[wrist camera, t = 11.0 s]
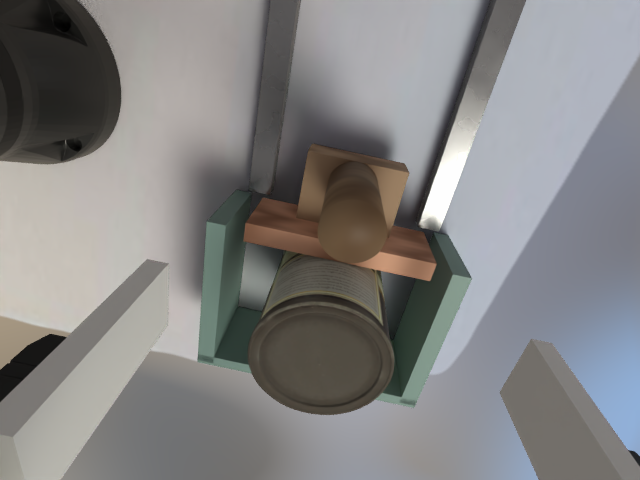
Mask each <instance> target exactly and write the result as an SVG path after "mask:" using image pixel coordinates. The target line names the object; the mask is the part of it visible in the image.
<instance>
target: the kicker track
mask: <svg viewBox="0 0 640 480" xmlns="http://www.w3.org/2000/svg"><path fill="white" fill-rule="evenodd" d="M525 2H526V0H490V3H489V6H488V9H487V12H486V15H485V18H484V21H483V24H482V27H481V30H480V33H479V36H478V39H477V42H476V45H475V47H474V50H473V53H472V56H471V59H470V62H469V65H468V68H467V71H466V74H465V77H464V80H463V83H462V86H461V89H460V92H459V95H458V97H457V100H456V103H455V106H454V109H453V112H452V115H451V118H450V121H449V124H448V127H447V130H446V133H445V136H444V139H443V142H442V145H441V147H440V150H439V153H438V156H437V159H436V162H435V165H434V168H433V171H432V174H431V177H430V180H429V183H428V186H427V189H426V192H425V195H424V198H423V200H422V203H421V206H420V209H419V212H418V215H417V218H416V223H417V226H418V227H420V228H424V229H429V230H434V231H438V232H439V230H440V228H441V225H442V222H443V220H444V217H445V215H446V212H447V209H448V207H449V204H450V201H451V199H452V196H453V193H454V191H455V188H456V185H457V183H458V180H459V177H460V175H461V172H462V169H463V167H464V164H465V161H466V159H467V156H468V153H469V151H470V148H471V145H472V143H473V140H474V137H475V135H476V132H477V129H478V127H479V124H480V121H481V119H482V116H483V113H484V111H485V108H486V106H487V103H488V100H489V98H490V95H491V92H492V90H493V87H494V84H495V82H496V79H497V76H498V74H499V71H500V68H501V66H502V63H503V60H504V58H505V55H506V52H507V50H508V47H509V44H510V42H511V39H512V36H513V34H514V31H515V28H516V26H517V23H518V20H519V18H520V15H521V12H522V10H523V7H524V4H525ZM300 3H301V0H270V9H269V18H268V26H267V35H266V44H265V52H264V61H263V70H262V78H261V87H260V96H259V104H258V113H257V122H256V130H255V139H254V148H253V156H252V165H251V174H250V182H249V191H253V192H258V193H262V194H267V195H270V194H271V193H272V191H273V187H274V180H275V173H276V167H277V160H278V153H279V146H280V139H281V132H282V126H283V119H284V112H285V105H286V98H287V91H288V85H289V78H290V71H291V64H292V57H293V50H294V44H295V37H296V30H297V23H298V16H299V9H300Z"/></svg>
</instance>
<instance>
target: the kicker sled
mask: <svg viewBox="0 0 640 480" xmlns="http://www.w3.org/2000/svg"><path fill="white" fill-rule="evenodd" d="M408 176H409V171H408V169H407V167H406V165H405V164H404V163H400V162H395V161H390V160H386V159H381V158H377V157H372V156H367V155H363V154H358V153H354V152H349V151H344V150H340V149H335V148H331V147H326V146H321V145H317V144H312V145H311V146H310V148H309V150H308V154H307V160H306V165H305V171H304V176H303V182H302V187H301V193H300V198H299V204H298V205H296V204H291V203H287V202H282V201H277V200H273V199H268V198H262V200H261V201H260V203H259V204H258V206H257V207H256V208H255V210H254V211H253V213H252V214H251V216H250V217H249V219H248V220H247V222H246V223H245V232H244V241H245V242H249V243H254V244H259V245H263V246H268V247H272V248H277V249H282V250H286V251H291V252H296V253H300V254H305V255H310V256H314V257H319V258H324V259H328V260H333V261H338V262H342V263H347V264H352V265H356V266H361V267H366V268H370V269H375V270H380V271H384V272H389V273H394V274H398V275H403V276H408V277H412V278H417V279H422V280H426V281H430V280H431V278H432V275H433V273H434V270H435V267H436V265H437V263H436V261H435V258H434V256H433V254H432V251H431V249H430V246H429V244H428V242H427V239H426V237H425V234H424V232H421V231H416V230H412V229H407V228H402V227H398V226H393V224H394V220H395V217H396V214H397V211H398V208H399V204H400V201H401V198H402V195H403V192H404V188H405V185H406V182H407V179H408Z"/></svg>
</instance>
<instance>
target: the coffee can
mask: <svg viewBox="0 0 640 480" xmlns="http://www.w3.org/2000/svg"><path fill="white" fill-rule="evenodd" d="M247 354H248V363H249V368H250V370H251V373H252V375H253V377H254V379H255V380H256V382H257V383H258V385H259V386H260V387H261V388H262V389H263V390H264V391H265V392H266V393H267V394H268V395H269V396H271V397H272V398H273V399H275V400H276V401H278V402H279V403H281V404H283V405H285V406H287V407H289V408H292V409H294V410H298V411H301V412H306V413H311V414H320V415H334V414H341V413H347V412H351V411H354V410H357V409H359V408H361V407H363V406H365V405H368V404H369V403H371V402H372V401H374V400H375V399H376V398H377V397H379V396H380V395H381V394H382V393H383V391H384V390H385V389H386V387H387V386H388V384H389V382H390V381H391V378H392V375H393V371H394V352H393V347H392V343H391V341H390V336H389V329H388V321H387V314H386V308H385V301H384V293H383V286H382V278H381V271H380V270H375V269H370V268H366V267H361V266H356V265H352V264H347V263H342V262H338V261H333V260H328V259H324V258H319V257H314V256H310V255H305V254H300V253H296V252H291V251H286V250H284V253H283V257H282V260H281V263H280V265H279V268H278V271H277V273H276V276H275V278H274V281H273V284H272V286H271V289H270V292H269V295H268V297H267V300H266V303H265V306H264V308H263V311H262V314H261V316H260V319H259V322H258V323H257V325H256V326H255V328H254V330H253V333H252V335H251V337H250V340H249V344H248V352H247Z"/></svg>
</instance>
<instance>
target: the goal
mask: <svg viewBox="0 0 640 480" xmlns="http://www.w3.org/2000/svg"><path fill="white" fill-rule="evenodd" d="M251 195H252V193H249V192H244V191H240V190H236V191H235V192H234V193H233V194H232V195H231V196H230V197H229V198H228V199H227V200H226V201H225V203H224V204H223V205H222V206H221V207H220V208H219V209H218V210H217V211H216V212H215V213H214V214H213V215H212V216H211V217H210V218H209V220H208V221H207V224H206V239H205V254H204V270H203V285H202V301H201V316H200V331H199V347H198V362H200V363H205V364H209V365H214V366H219V367H224V368H228V369H233V370H238V371H242V372H247V373H251V370H250V368H249V363H248V354H247V352H248V344H249V340H250V337H251V335H252V333H253V330H254V328H255V326H256V325H257V323H258V322H259V319H260V316H261V314H262V312H260V311H256V310H251V309H246V308H241V307H238V303H239V295H240V287H241V278H242V270H243V262H244V253H245V245H246V242H245V241H244V232H245V223H246V222H247V220H248V219H249V212H250V203H251ZM429 246H430V249H431V251H432V254H433V256H434V258H435V261H436V263H437V265H436V267H435V270H434V273H433V275H432V278H431V280H430V281H426V280H422V279H417V278H416V280H415V283H414V286H413V289H412V291H411V294H410V297H409V299H408V302H407V305H406V308H405V310H404V313H403V316H402V318H401V321H400V324H399V327H398V329H397V332H396V335H395V337H394V340H392V339H390V341H391V343H392V347H393V352H394V371H393V375H392V378H391V381H390V382H389V384H388V386H387V387H386V389H385V390H384V391H383V393H382V394H381V395H380V396H379V397H377V398H376V399H375V400H380V401H384V402H389V403H394V404H399V405H403V406H408V407H413V408H414V407H415V405H416V402H417V400H418V398H419V396H420V393H421V391H422V389H423V387H424V385H425V382H426V380H427V378H428V376H429V373H430V371H431V369H432V367H433V364H434V362H435V360H436V358H437V356H438V353H439V351H440V349H441V347H442V344H443V342H444V340H445V338H446V335H447V333H448V331H449V329H450V327H451V324H452V322H453V320H454V318H455V315H456V313H457V311H458V309H459V306H460V304H461V302H462V300H463V298H464V295H465V293H466V291H467V289H468V286H469V284H470V282H471V280H472V278H471V276H470V274H469V272H468V270H467V269H466V267H465V265H464V263H463V261H462V259H461V258H460V256H459V254H458V252H457V250H456V249H455V247H454V245H453V243H452V241H451V239H450V238H449V236H448V235H444V234H439V233H434V232H433V234H432V237H431V240H430V242H429Z"/></svg>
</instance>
